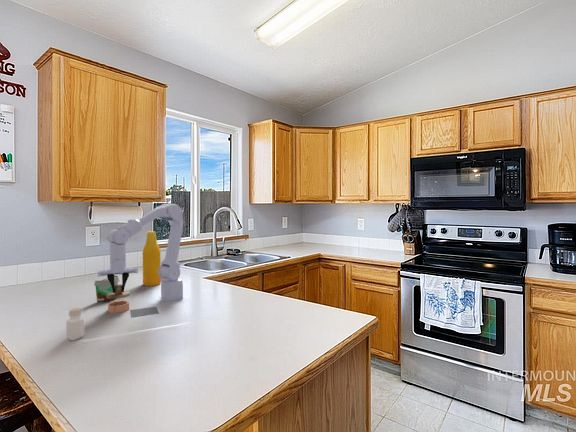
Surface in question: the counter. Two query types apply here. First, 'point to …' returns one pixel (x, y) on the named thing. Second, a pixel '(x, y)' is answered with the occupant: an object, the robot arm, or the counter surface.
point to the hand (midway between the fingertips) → (118, 291)
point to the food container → (105, 289)
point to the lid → (118, 293)
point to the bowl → (118, 306)
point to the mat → (144, 311)
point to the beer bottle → (151, 261)
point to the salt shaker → (75, 324)
